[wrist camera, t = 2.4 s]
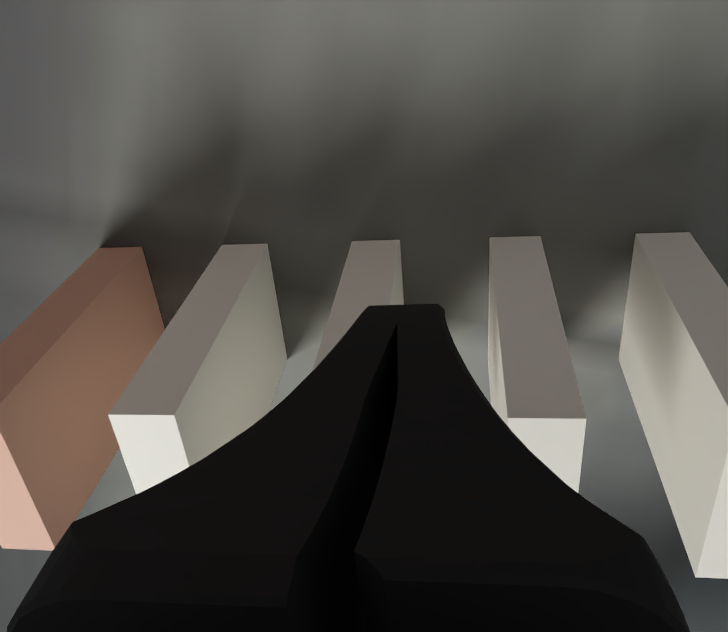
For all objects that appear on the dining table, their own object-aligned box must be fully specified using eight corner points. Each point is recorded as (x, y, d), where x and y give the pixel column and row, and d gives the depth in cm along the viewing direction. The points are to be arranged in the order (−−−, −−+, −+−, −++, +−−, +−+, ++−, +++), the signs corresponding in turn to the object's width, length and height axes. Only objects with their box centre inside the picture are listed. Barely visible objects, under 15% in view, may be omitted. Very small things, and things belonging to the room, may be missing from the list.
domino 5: (689, 232, 21) (822, 422, 13) (666, 358, 23) (767, 580, 16) (635, 233, 21) (735, 421, 14) (618, 358, 24) (695, 577, 16)
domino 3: (400, 239, 22) (370, 416, 15) (407, 359, 25) (385, 564, 17) (351, 240, 22) (298, 416, 15) (364, 359, 25) (323, 561, 17)
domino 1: (141, 247, 24) (-9, 413, 16) (173, 359, 26) (56, 550, 18) (98, 247, 24) (-70, 412, 16) (134, 360, 26) (2, 548, 19)
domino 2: (267, 243, 23) (174, 415, 15) (287, 359, 25) (215, 557, 18) (221, 244, 23) (108, 414, 16) (246, 359, 26) (158, 555, 18)
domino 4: (540, 235, 22) (586, 418, 14) (533, 359, 24) (569, 571, 16) (489, 237, 22) (507, 418, 14) (488, 359, 24) (502, 568, 17)
